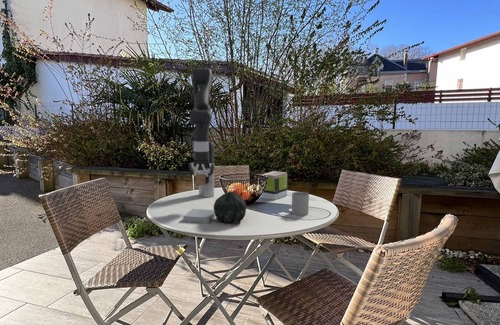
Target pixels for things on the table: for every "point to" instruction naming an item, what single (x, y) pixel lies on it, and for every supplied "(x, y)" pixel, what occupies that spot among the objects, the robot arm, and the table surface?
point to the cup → (300, 203)
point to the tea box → (275, 185)
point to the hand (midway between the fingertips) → (201, 183)
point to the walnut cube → (200, 179)
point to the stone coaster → (199, 216)
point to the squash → (230, 207)
